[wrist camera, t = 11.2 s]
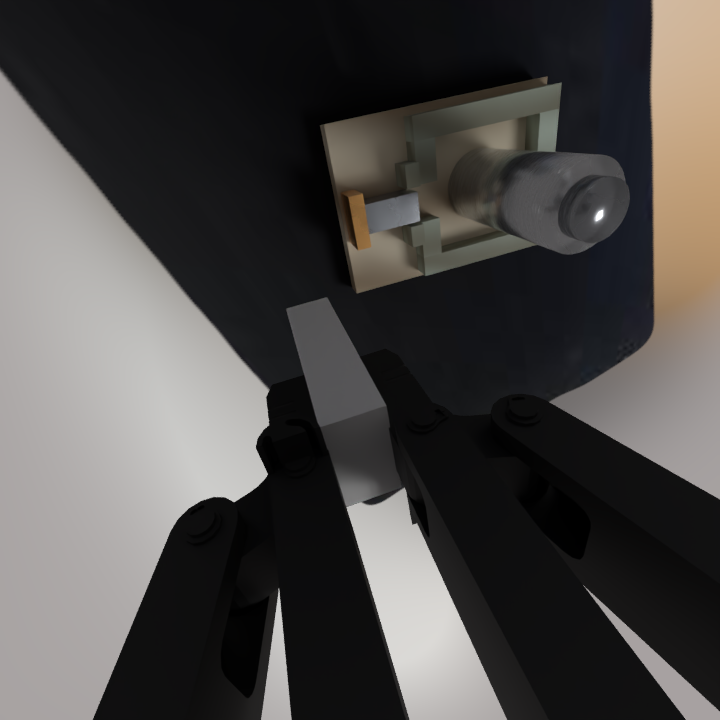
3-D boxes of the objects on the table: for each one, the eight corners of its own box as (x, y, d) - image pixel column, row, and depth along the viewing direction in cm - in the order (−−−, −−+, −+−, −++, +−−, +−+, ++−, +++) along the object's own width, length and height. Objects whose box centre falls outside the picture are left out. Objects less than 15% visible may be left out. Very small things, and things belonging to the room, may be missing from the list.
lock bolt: (340, 192, 27) (348, 197, 25) (405, 176, 28) (418, 179, 26) (349, 242, 29) (358, 250, 27) (410, 226, 30) (423, 233, 28)
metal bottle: (446, 155, 28) (564, 168, 18) (507, 141, 29) (655, 145, 18) (449, 224, 31) (553, 270, 20) (505, 210, 31) (633, 247, 21)
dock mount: (319, 125, 26) (330, 124, 23) (533, 78, 28) (567, 72, 25) (352, 287, 33) (363, 302, 30) (524, 239, 35) (550, 249, 32)
